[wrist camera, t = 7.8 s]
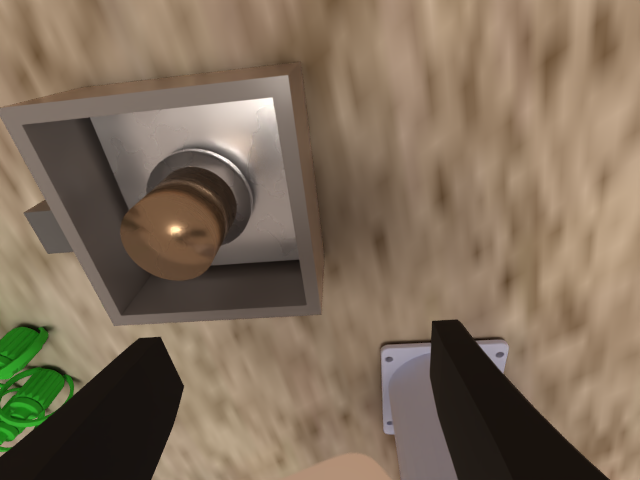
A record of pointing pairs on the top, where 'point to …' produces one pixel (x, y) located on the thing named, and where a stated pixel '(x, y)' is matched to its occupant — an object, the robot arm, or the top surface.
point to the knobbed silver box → (110, 208)
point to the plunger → (200, 186)
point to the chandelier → (36, 393)
